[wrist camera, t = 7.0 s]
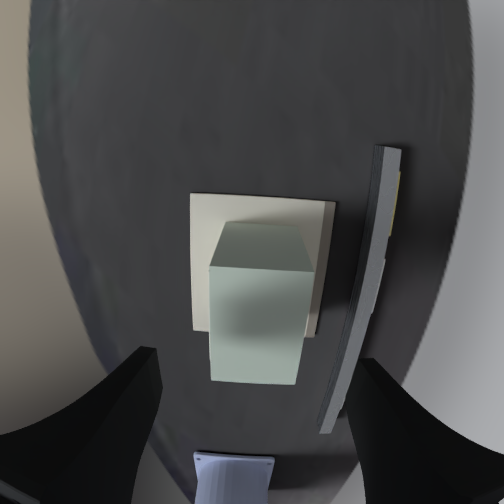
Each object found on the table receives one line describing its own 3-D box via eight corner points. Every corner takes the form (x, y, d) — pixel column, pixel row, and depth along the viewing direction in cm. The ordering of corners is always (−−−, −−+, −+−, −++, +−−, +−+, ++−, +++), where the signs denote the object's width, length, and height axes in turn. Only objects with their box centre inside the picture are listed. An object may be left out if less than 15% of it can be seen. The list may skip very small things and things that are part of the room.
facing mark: (313, 335, 20) (313, 337, 20) (193, 328, 20) (193, 330, 20) (334, 201, 17) (335, 202, 17) (191, 192, 17) (190, 193, 17)
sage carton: (300, 226, 17) (318, 272, 12) (288, 317, 20) (297, 384, 14) (222, 221, 17) (205, 265, 12) (220, 313, 20) (208, 379, 14)
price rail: (329, 420, 24) (332, 433, 22) (316, 420, 24) (319, 433, 22) (392, 148, 16) (403, 150, 14) (374, 144, 16) (384, 146, 14)
